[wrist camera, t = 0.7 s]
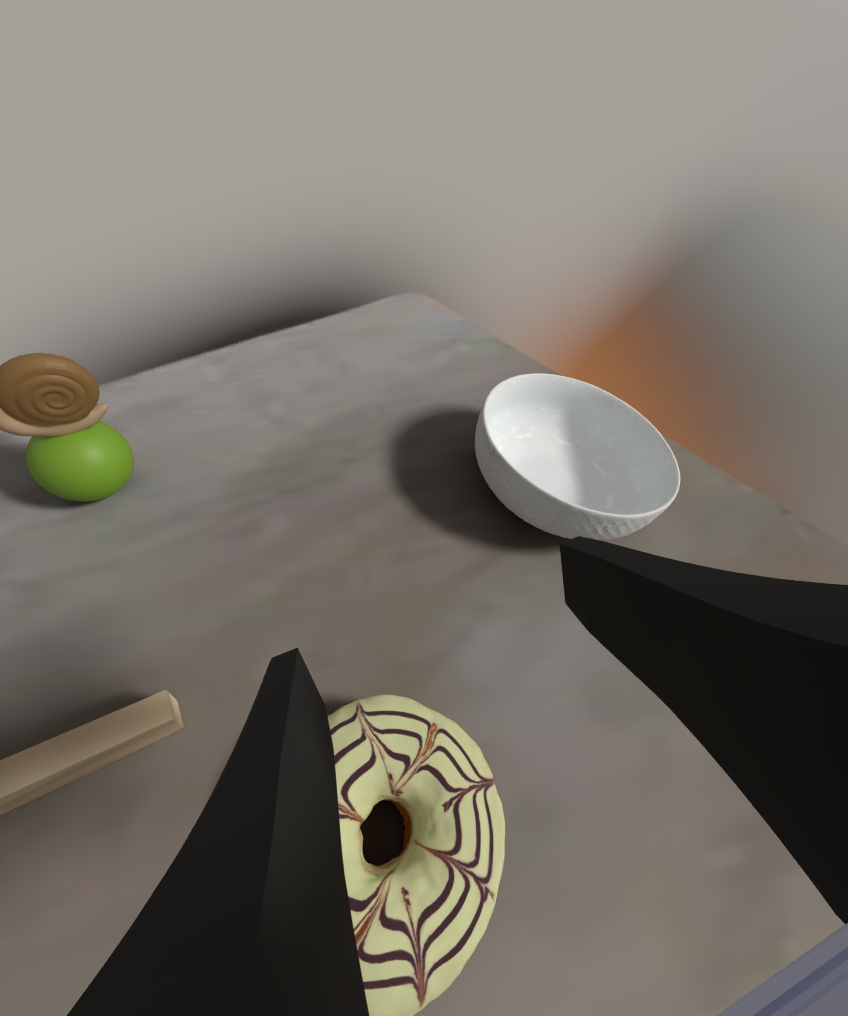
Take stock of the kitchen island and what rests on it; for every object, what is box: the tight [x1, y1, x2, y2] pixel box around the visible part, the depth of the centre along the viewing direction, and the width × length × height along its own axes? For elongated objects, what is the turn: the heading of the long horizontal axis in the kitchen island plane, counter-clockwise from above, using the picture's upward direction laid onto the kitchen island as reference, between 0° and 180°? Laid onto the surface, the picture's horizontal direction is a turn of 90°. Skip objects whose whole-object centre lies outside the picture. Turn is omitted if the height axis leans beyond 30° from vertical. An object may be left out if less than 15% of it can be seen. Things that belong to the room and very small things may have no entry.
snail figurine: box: [0, 353, 134, 501], centre depth 25 cm, size 5×6×12 cm
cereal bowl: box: [475, 374, 680, 541], centre depth 37 cm, size 17×17×7 cm
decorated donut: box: [327, 695, 505, 1016], centre depth 20 cm, size 11×12×4 cm
